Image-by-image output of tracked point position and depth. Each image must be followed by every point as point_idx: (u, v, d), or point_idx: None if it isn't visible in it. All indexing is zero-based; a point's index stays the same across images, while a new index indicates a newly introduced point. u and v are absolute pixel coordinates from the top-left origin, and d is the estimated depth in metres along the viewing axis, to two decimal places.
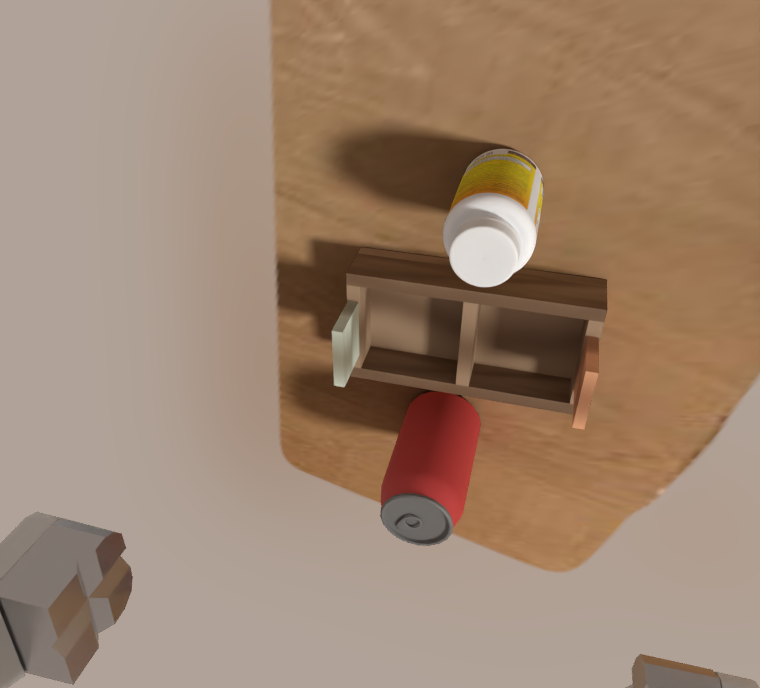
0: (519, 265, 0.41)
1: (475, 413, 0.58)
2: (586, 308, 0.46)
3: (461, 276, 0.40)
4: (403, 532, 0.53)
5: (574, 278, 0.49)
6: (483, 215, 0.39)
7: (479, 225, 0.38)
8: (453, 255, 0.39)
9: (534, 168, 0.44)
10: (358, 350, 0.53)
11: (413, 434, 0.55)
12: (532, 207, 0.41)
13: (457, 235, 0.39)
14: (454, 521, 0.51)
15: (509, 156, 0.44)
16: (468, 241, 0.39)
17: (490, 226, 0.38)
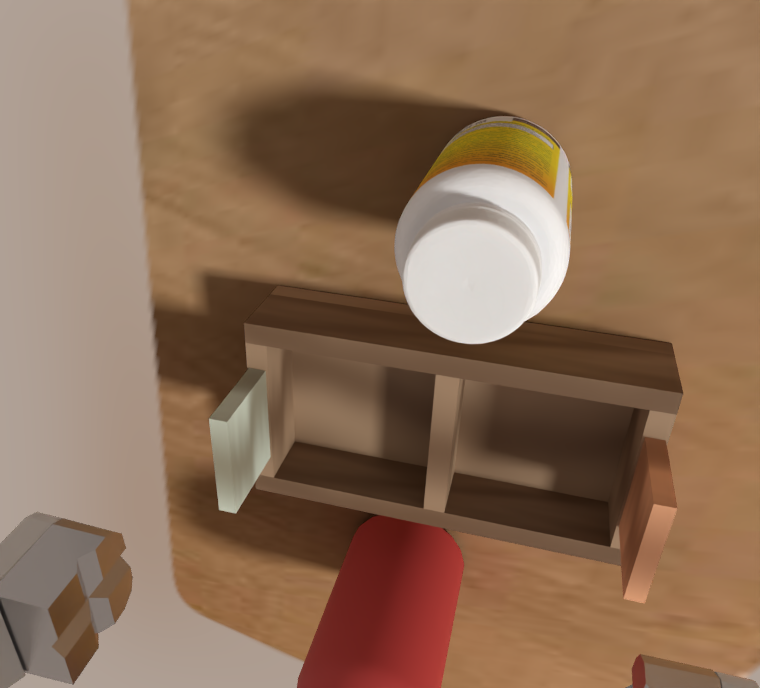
0: (537, 305, 0.22)
1: (456, 548, 0.38)
2: (646, 390, 0.27)
3: (426, 322, 0.21)
4: None
5: (618, 340, 0.30)
6: (470, 203, 0.20)
7: (462, 217, 0.19)
8: (410, 279, 0.20)
9: (558, 147, 0.26)
10: (268, 449, 0.33)
11: (355, 587, 0.34)
12: (561, 198, 0.22)
13: (418, 239, 0.20)
14: None
15: (515, 123, 0.25)
16: (439, 251, 0.19)
17: (483, 219, 0.19)
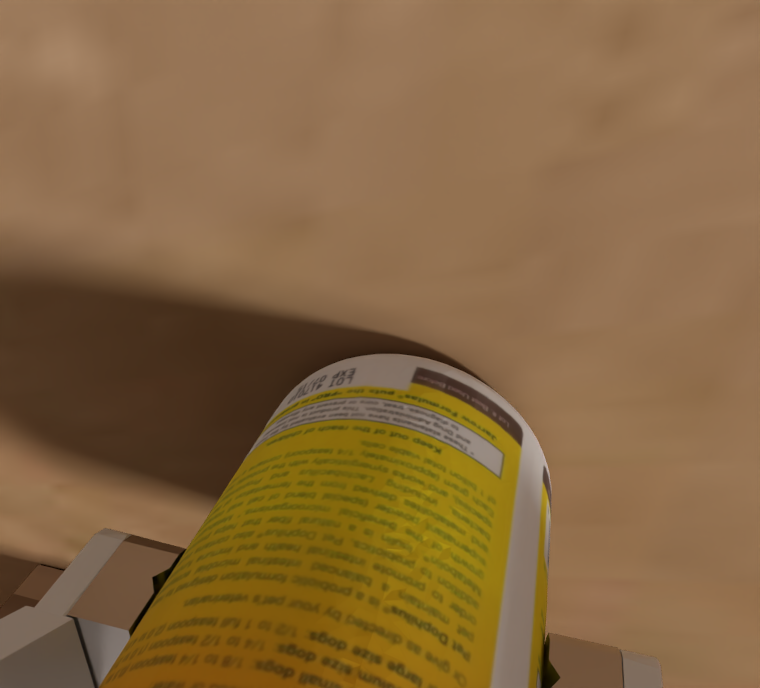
0: None
1: None
2: None
3: None
4: None
5: None
6: None
7: None
8: None
9: (516, 443, 0.11)
10: None
11: None
12: None
13: None
14: None
15: (414, 401, 0.11)
16: None
17: None
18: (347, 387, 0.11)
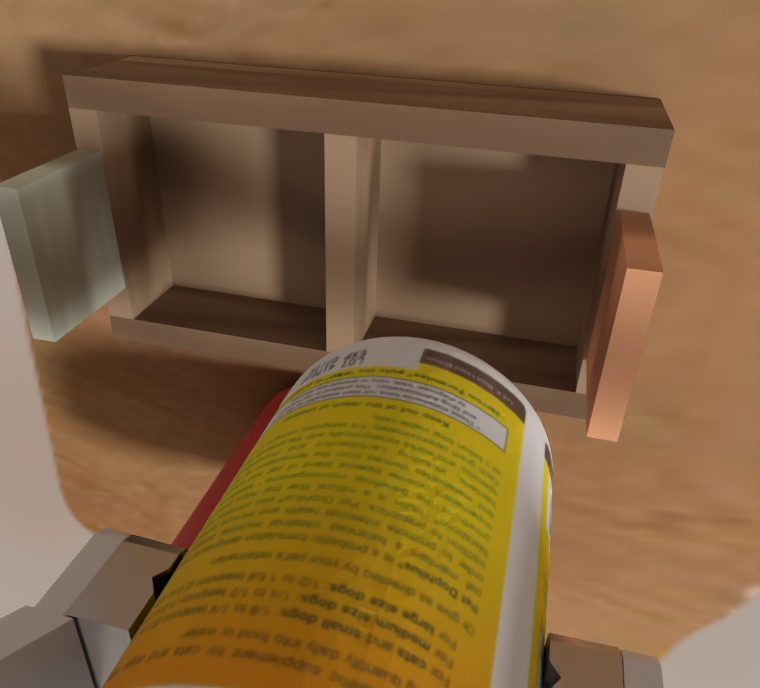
0: None
1: None
2: (620, 129, 0.18)
3: None
4: None
5: (585, 95, 0.21)
6: None
7: None
8: None
9: (519, 421, 0.12)
10: (118, 274, 0.25)
11: (241, 463, 0.26)
12: None
13: None
14: None
15: (422, 380, 0.11)
16: None
17: None
18: (359, 367, 0.12)
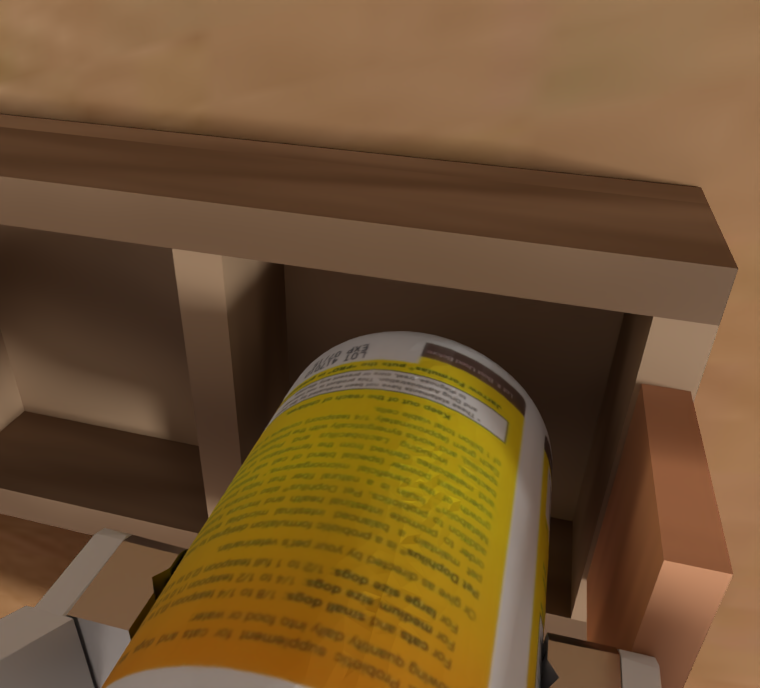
0: None
1: None
2: (645, 263, 0.11)
3: None
4: None
5: (586, 182, 0.14)
6: None
7: None
8: None
9: (519, 413, 0.12)
10: None
11: None
12: None
13: None
14: None
15: (424, 373, 0.11)
16: None
17: None
18: (361, 361, 0.12)
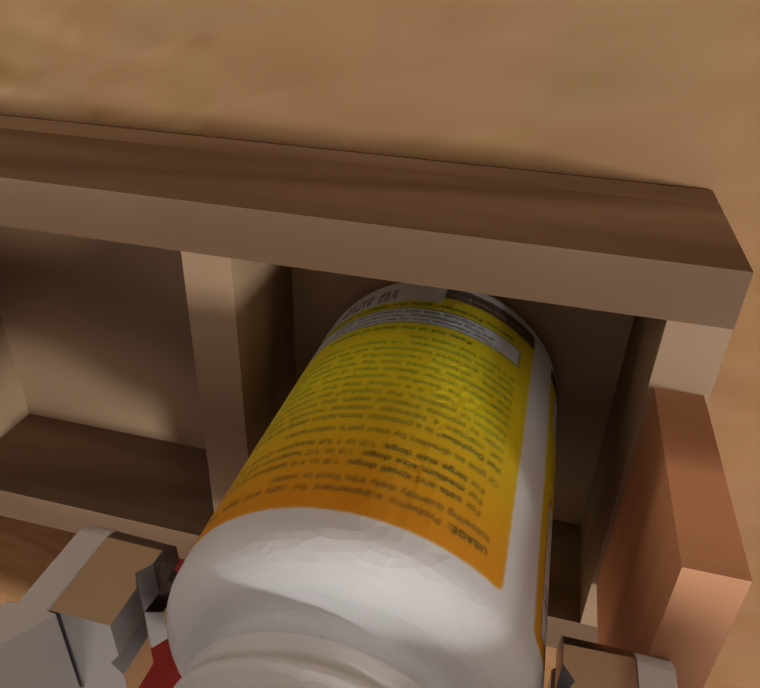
0: None
1: None
2: (659, 266, 0.11)
3: None
4: None
5: (596, 184, 0.14)
6: (290, 637, 0.08)
7: None
8: None
9: (530, 346, 0.14)
10: None
11: None
12: (525, 546, 0.10)
13: None
14: None
15: (448, 310, 0.13)
16: None
17: None
18: (393, 302, 0.14)
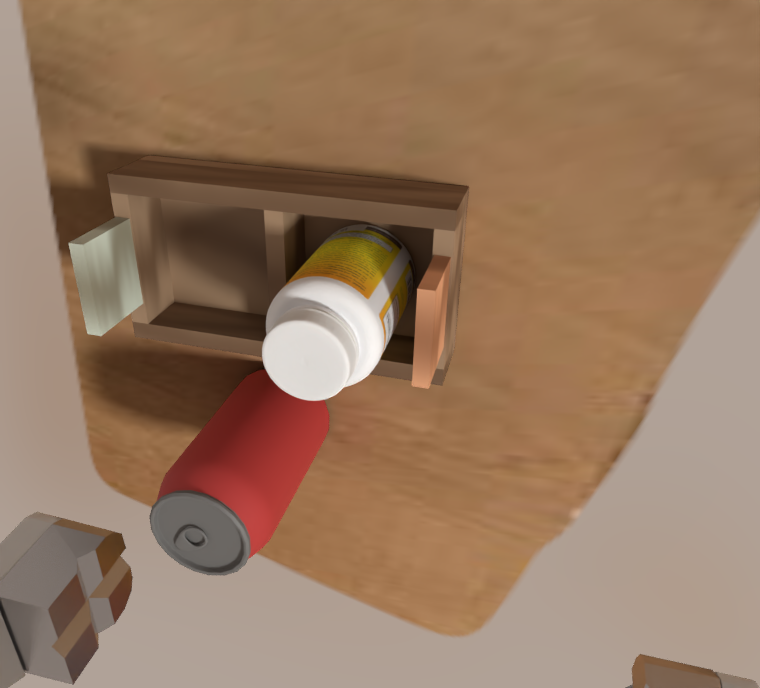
0: (363, 371, 0.31)
1: None
2: (428, 209, 0.32)
3: (281, 386, 0.30)
4: (188, 555, 0.36)
5: (424, 184, 0.35)
6: (306, 305, 0.29)
7: (295, 318, 0.28)
8: (267, 358, 0.29)
9: (398, 248, 0.35)
10: (139, 294, 0.38)
11: (218, 417, 0.39)
12: (380, 296, 0.31)
13: (269, 331, 0.29)
14: (254, 536, 0.35)
15: (365, 233, 0.35)
16: (283, 340, 0.29)
17: (308, 320, 0.28)
18: (344, 231, 0.35)
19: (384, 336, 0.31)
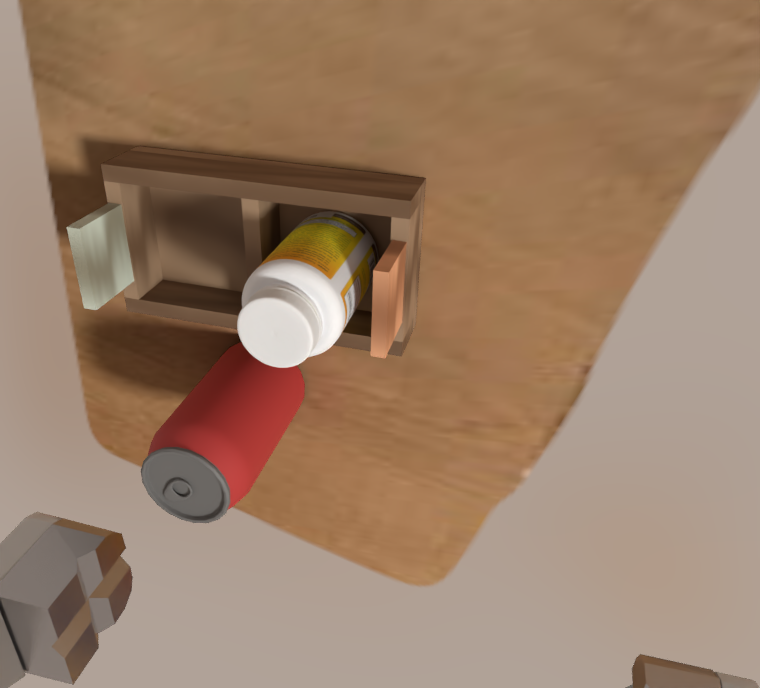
0: (327, 342, 0.35)
1: (295, 368, 0.47)
2: (386, 200, 0.36)
3: (254, 354, 0.34)
4: (175, 505, 0.41)
5: (385, 176, 0.39)
6: (276, 284, 0.34)
7: (265, 295, 0.33)
8: (241, 330, 0.34)
9: (362, 233, 0.39)
10: (130, 273, 0.42)
11: (202, 384, 0.43)
12: (342, 276, 0.35)
13: (243, 307, 0.33)
14: (233, 488, 0.39)
15: (332, 219, 0.39)
16: (255, 314, 0.33)
17: (276, 297, 0.32)
18: (314, 217, 0.39)
19: (345, 312, 0.35)
